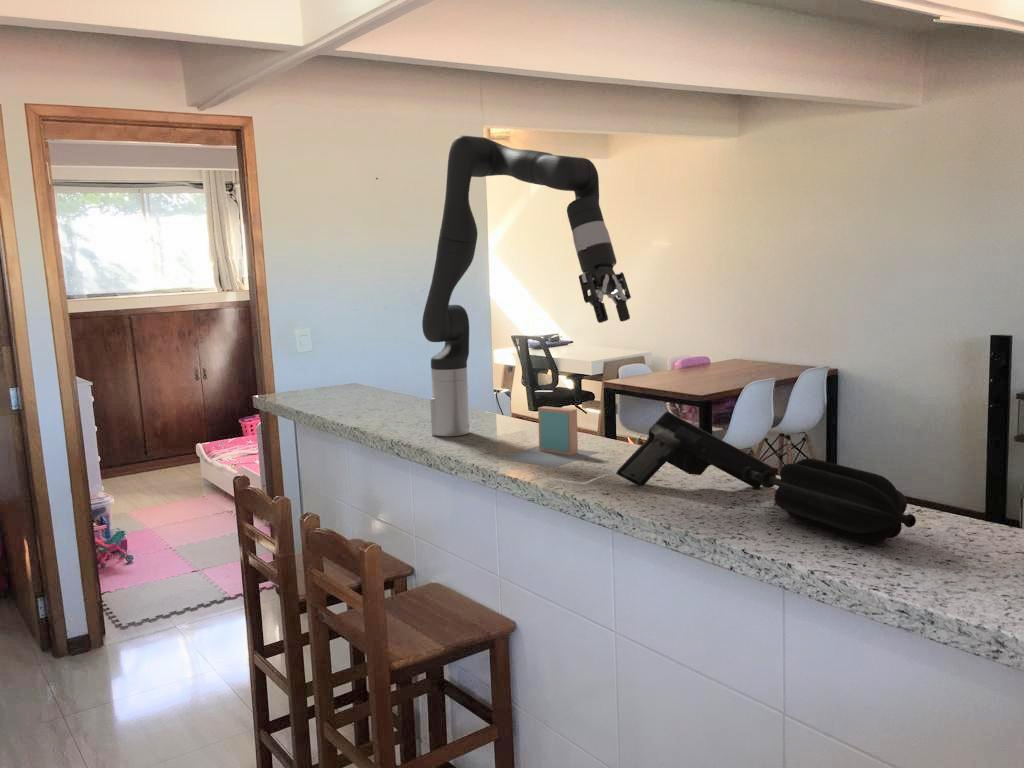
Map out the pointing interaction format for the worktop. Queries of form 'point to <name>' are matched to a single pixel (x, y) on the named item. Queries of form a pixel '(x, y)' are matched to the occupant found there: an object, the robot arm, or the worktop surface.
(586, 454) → the mat
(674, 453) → the handgun
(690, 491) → the worktop surface
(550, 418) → the tile
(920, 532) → the worktop surface
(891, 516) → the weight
